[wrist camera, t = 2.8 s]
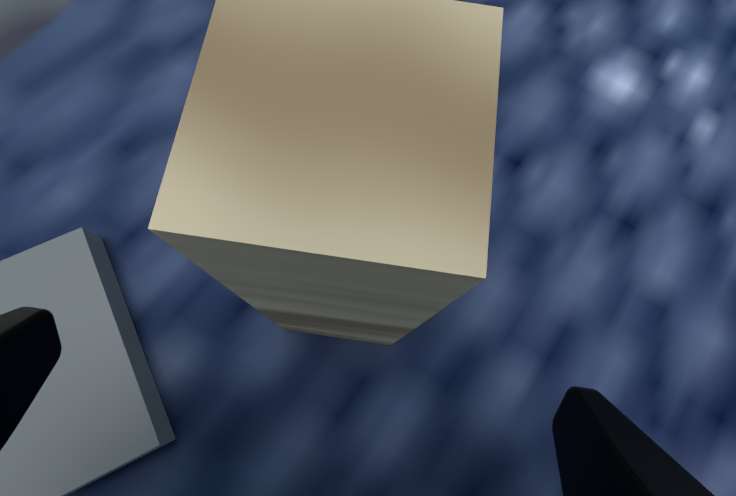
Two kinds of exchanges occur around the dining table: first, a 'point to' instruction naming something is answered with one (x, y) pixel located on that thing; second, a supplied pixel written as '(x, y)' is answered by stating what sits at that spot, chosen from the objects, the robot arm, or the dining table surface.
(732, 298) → the dining table surface
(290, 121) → the beech pillar
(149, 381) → the slate plinth
